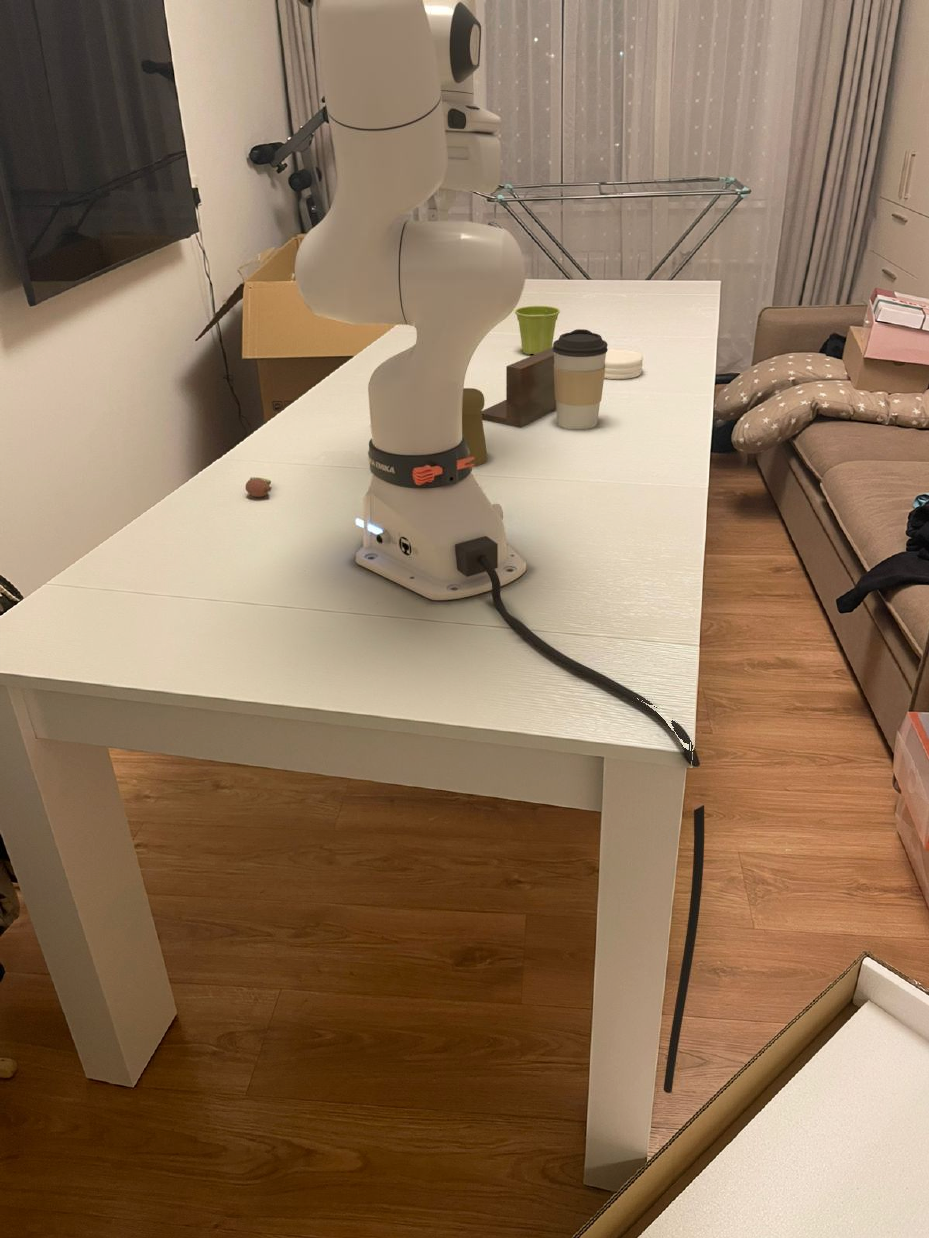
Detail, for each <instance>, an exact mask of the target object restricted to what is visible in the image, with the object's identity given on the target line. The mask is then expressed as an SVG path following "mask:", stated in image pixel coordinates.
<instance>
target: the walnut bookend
mask: <svg viewBox="0 0 929 1238" xmlns="http://www.w3.org/2000/svg"><path fill="white" fill-rule="evenodd" d="M552 349H553V347H552V348H549V349H547V350H545V351H542V352H540V353H537V354H533V355H530V356H528V357H526V358H523V359H521V360H519V361H516V362H513V363H510V364H509V365H506V368H505V370H506V371H505V375H506V376H505V377H506V378H505V379H506V380H505V383H506V384H505V385H506V387H505V396H506V397H505V398H506V399H505V400H502V401H500V402H498V403H496V404H494V405H492V406H489V407H487V408H485V409H482V411H481V415H482V420H484V421H490V422H493V423H498V424H503V425H507V426H512V427H516V428H523V427H524V426H526V425H528V424H531V423H533V422H535V421H537V420H538V419H540V418H542V417H544V416H546V415H549V414H551V413H552V412H555V411H556V400H555V387H554V352H553V350H552Z"/></svg>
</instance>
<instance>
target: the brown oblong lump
mask: <svg viewBox="0 0 929 1238" xmlns="http://www.w3.org/2000/svg"><path fill="white" fill-rule="evenodd" d="M484 408H485V396H484V393H483V392H482V391H481V390H480V389H477V388H472V387H471V388H470V387H465V388H463V403H462V435H463V436H464V438H465V440H466V444H467V447H468V449H469V453H470V454H469V457H474V458H475V459H473V460H472V461H471V464H475V465H474V466H473V467H475V466H480V465H483V464H486V463H487V462H488V460H489V459H488V452H487V451H488V450H487V445H486V438H485V429H484V423H483V419H482V415H481V411H483V410H484Z"/></svg>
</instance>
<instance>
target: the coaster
mask: <svg viewBox="0 0 929 1238" xmlns="http://www.w3.org/2000/svg"><path fill="white" fill-rule="evenodd" d="M643 360H644V357H643V355H642V354H641V353H640V352H637V351H634V350H630V349H621V348H620V349H619V348H618V349H617V348H616V349H608V351H607V352H606V358H605V365H606V366H605V374H604V379H608V380H628V379H629V380H630V379H633V378H636V377H638V376H640V375H641V374H642V373H643Z"/></svg>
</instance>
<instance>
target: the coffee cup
mask: <svg viewBox="0 0 929 1238" xmlns="http://www.w3.org/2000/svg"><path fill="white" fill-rule="evenodd" d="M608 346H609V344H608V342H607V341H605V340H604V339H603V338H602V336H601V334H598V333H595V332H592V331H590V330H588V329H584V328H583V329H580V328H578V329H577V328H576V329H574V330H571V331H570V332H565V333H562V334H560V335H559V337H558V339H556V340H554V341H553V343H552V348H553V349H552V350H553V352H554V387H555V400H556V410H555V411H556V424H557V426H559V427H561V428H563V429H568V430H587V429H592V428H595V427H597V425H598V421H599V414H600V405H601V401H602V396H603V388H604V381H605V378H604V374H605V366H606V365H605V358H606V352H607V351H608V350H609V349H608Z"/></svg>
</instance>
